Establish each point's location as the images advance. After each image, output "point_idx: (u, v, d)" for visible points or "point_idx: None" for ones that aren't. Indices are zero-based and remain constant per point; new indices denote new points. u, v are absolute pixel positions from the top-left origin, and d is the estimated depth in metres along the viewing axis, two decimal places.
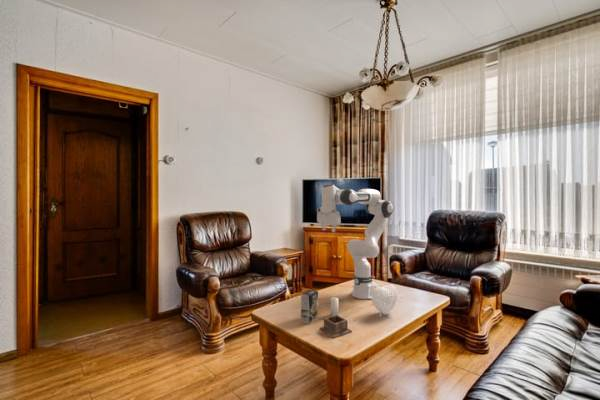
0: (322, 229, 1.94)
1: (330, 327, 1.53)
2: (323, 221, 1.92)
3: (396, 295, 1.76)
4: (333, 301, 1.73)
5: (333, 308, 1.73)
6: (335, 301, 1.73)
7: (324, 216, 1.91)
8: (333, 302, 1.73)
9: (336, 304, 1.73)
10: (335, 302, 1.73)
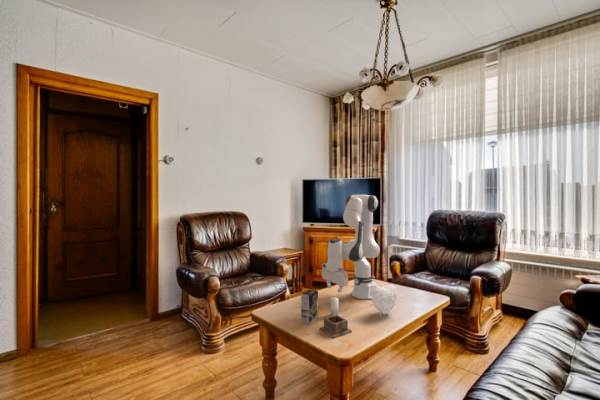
0: None
1: (330, 327, 1.53)
2: (328, 278, 1.76)
3: (396, 295, 1.76)
4: (333, 301, 1.73)
5: (333, 308, 1.73)
6: (335, 301, 1.73)
7: (330, 273, 1.76)
8: (333, 302, 1.73)
9: (336, 304, 1.73)
10: (335, 302, 1.73)
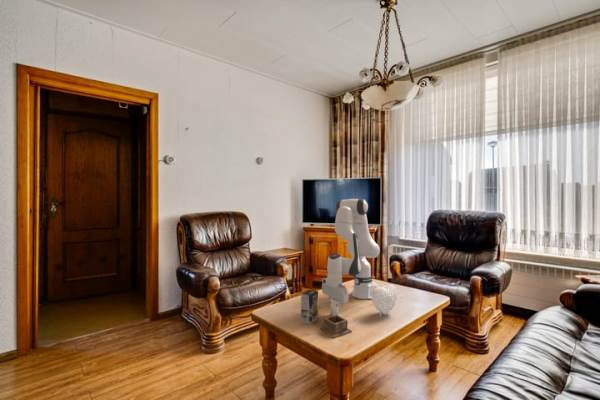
0: None
1: (330, 327, 1.53)
2: (329, 294, 1.76)
3: (396, 295, 1.76)
4: (333, 301, 1.73)
5: (333, 308, 1.73)
6: (335, 301, 1.73)
7: (330, 289, 1.76)
8: (333, 302, 1.73)
9: None
10: (335, 302, 1.73)
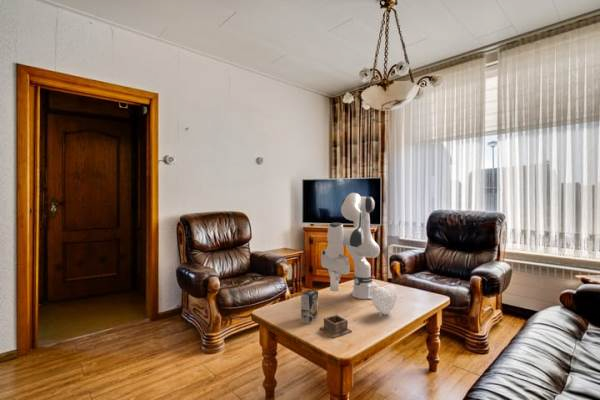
0: (329, 276, 1.61)
1: (330, 327, 1.53)
2: (328, 266, 1.60)
3: (396, 295, 1.76)
4: (333, 274, 1.57)
5: (333, 282, 1.57)
6: (335, 274, 1.57)
7: (330, 261, 1.60)
8: (333, 275, 1.57)
9: None
10: (335, 275, 1.57)
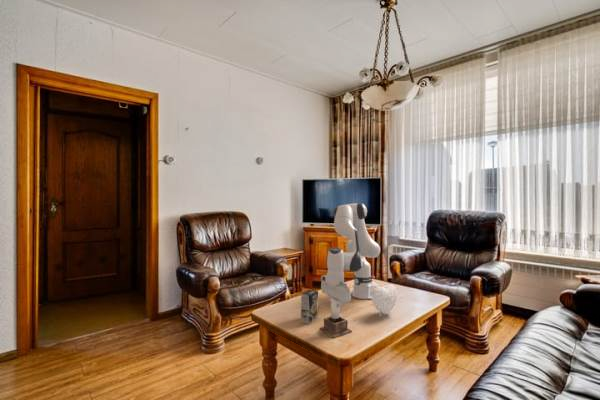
0: (330, 302, 1.58)
1: (330, 327, 1.53)
2: (329, 293, 1.57)
3: (396, 295, 1.76)
4: (333, 301, 1.54)
5: (333, 309, 1.54)
6: (336, 301, 1.53)
7: (330, 287, 1.57)
8: (333, 302, 1.54)
9: None
10: (336, 302, 1.54)
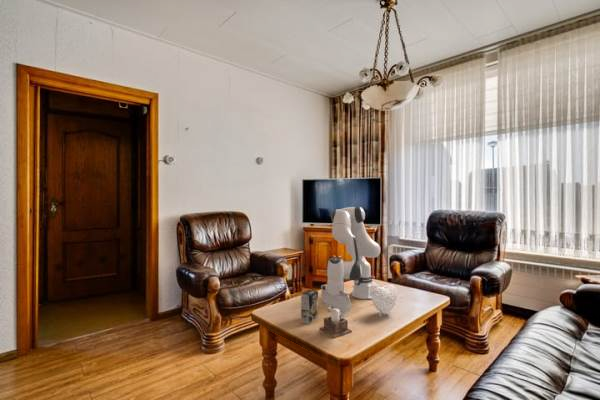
0: None
1: (330, 327, 1.53)
2: (329, 302, 1.57)
3: (396, 295, 1.76)
4: (333, 313, 1.54)
5: (333, 321, 1.54)
6: (336, 313, 1.54)
7: (330, 296, 1.57)
8: (333, 314, 1.54)
9: (337, 316, 1.54)
10: (336, 314, 1.54)
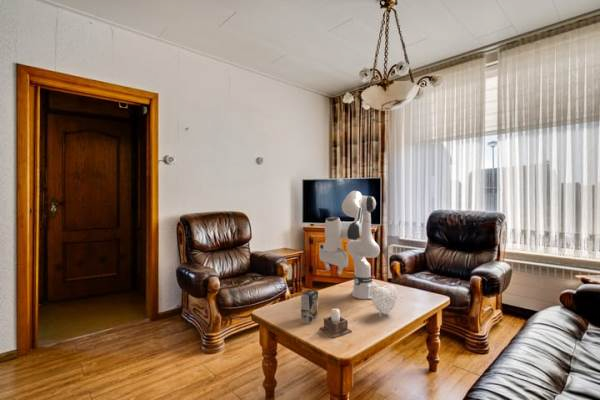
0: (326, 269, 1.65)
1: (330, 327, 1.53)
2: (327, 260, 1.62)
3: (396, 295, 1.76)
4: (334, 313, 1.54)
5: (334, 321, 1.54)
6: (336, 313, 1.54)
7: (328, 254, 1.62)
8: (334, 314, 1.54)
9: (337, 316, 1.54)
10: (336, 314, 1.54)
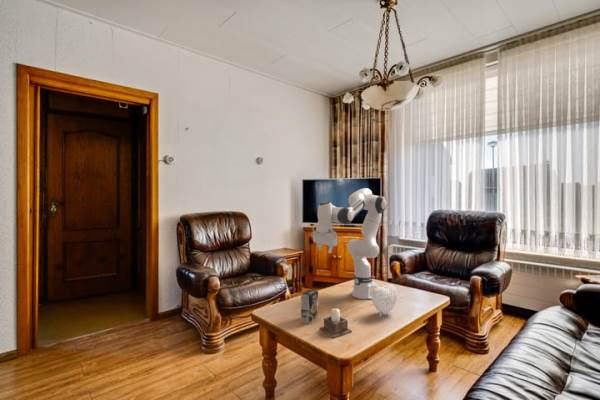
0: (318, 249, 1.83)
1: (330, 327, 1.53)
2: (319, 241, 1.80)
3: (396, 295, 1.76)
4: (334, 313, 1.54)
5: (334, 321, 1.54)
6: (336, 313, 1.54)
7: (320, 235, 1.80)
8: (334, 314, 1.54)
9: (337, 316, 1.54)
10: (336, 314, 1.54)
